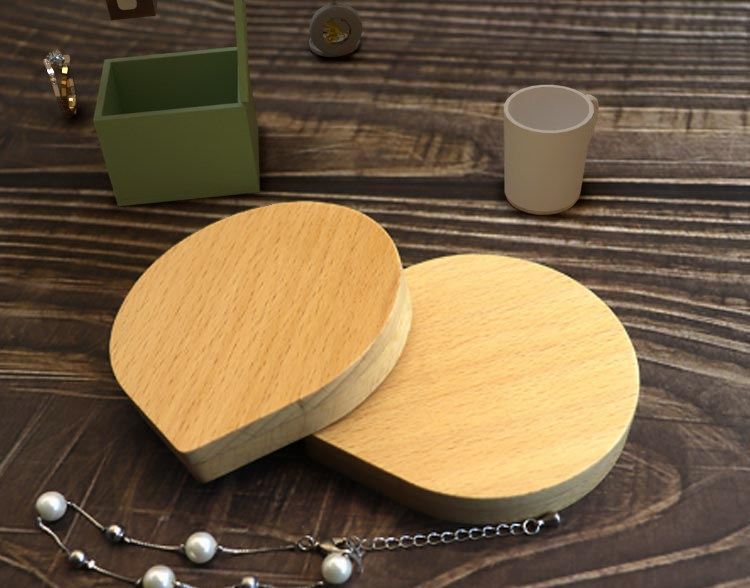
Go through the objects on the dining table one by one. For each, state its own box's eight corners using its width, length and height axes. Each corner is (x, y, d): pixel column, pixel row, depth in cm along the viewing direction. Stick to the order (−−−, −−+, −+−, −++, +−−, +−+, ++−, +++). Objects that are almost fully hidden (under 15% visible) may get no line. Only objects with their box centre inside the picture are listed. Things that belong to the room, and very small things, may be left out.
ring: (65, 99, 128) (46, 40, 122) (90, 97, 128) (73, 38, 122) (55, 130, 123) (35, 70, 117) (81, 128, 123) (63, 68, 117)
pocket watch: (337, 29, 136) (331, -44, 129) (379, 50, 132) (375, -25, 124) (290, 52, 133) (281, -22, 125) (332, 75, 128) (325, -1, 121)
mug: (535, 229, 105) (541, 143, 97) (483, 187, 110) (485, 103, 103) (616, 191, 108) (628, 106, 101) (562, 152, 114) (570, 69, 106)
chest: (117, 206, 111) (92, 120, 103) (126, 142, 120) (104, 59, 112) (259, 192, 112) (245, 106, 104) (258, 129, 120) (245, 45, 113)
